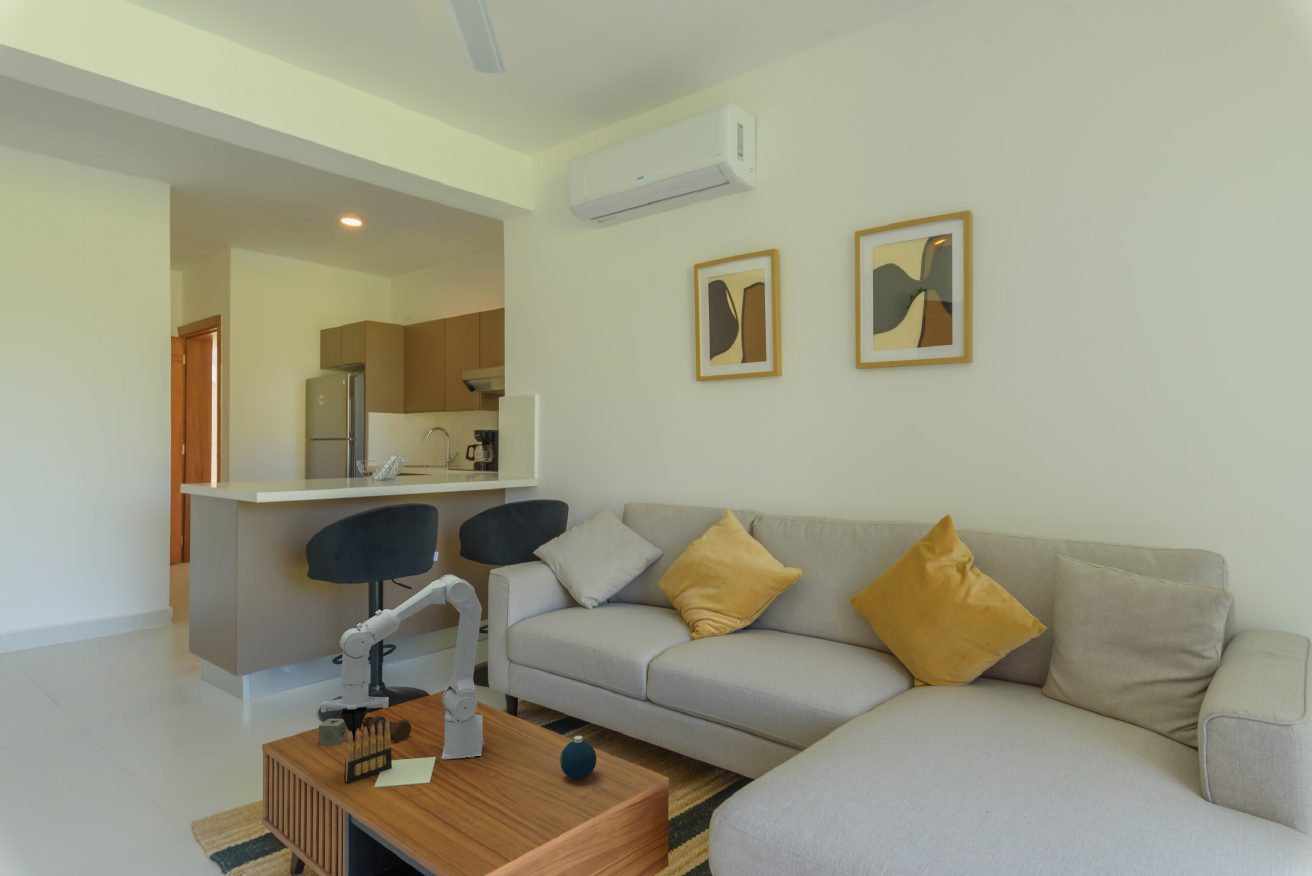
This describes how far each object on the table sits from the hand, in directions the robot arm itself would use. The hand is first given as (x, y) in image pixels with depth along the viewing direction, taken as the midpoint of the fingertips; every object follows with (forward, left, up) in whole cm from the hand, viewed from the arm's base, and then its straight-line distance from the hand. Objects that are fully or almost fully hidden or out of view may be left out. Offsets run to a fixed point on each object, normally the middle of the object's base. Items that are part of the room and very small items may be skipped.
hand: (355, 740), depth 171 cm
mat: (-11, 0, -8) cm, 14 cm away
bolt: (-3, -25, -9) cm, 27 cm away
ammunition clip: (-3, 0, -8) cm, 9 cm away
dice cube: (+10, -23, -9) cm, 27 cm away
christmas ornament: (-51, +11, -9) cm, 53 cm away
